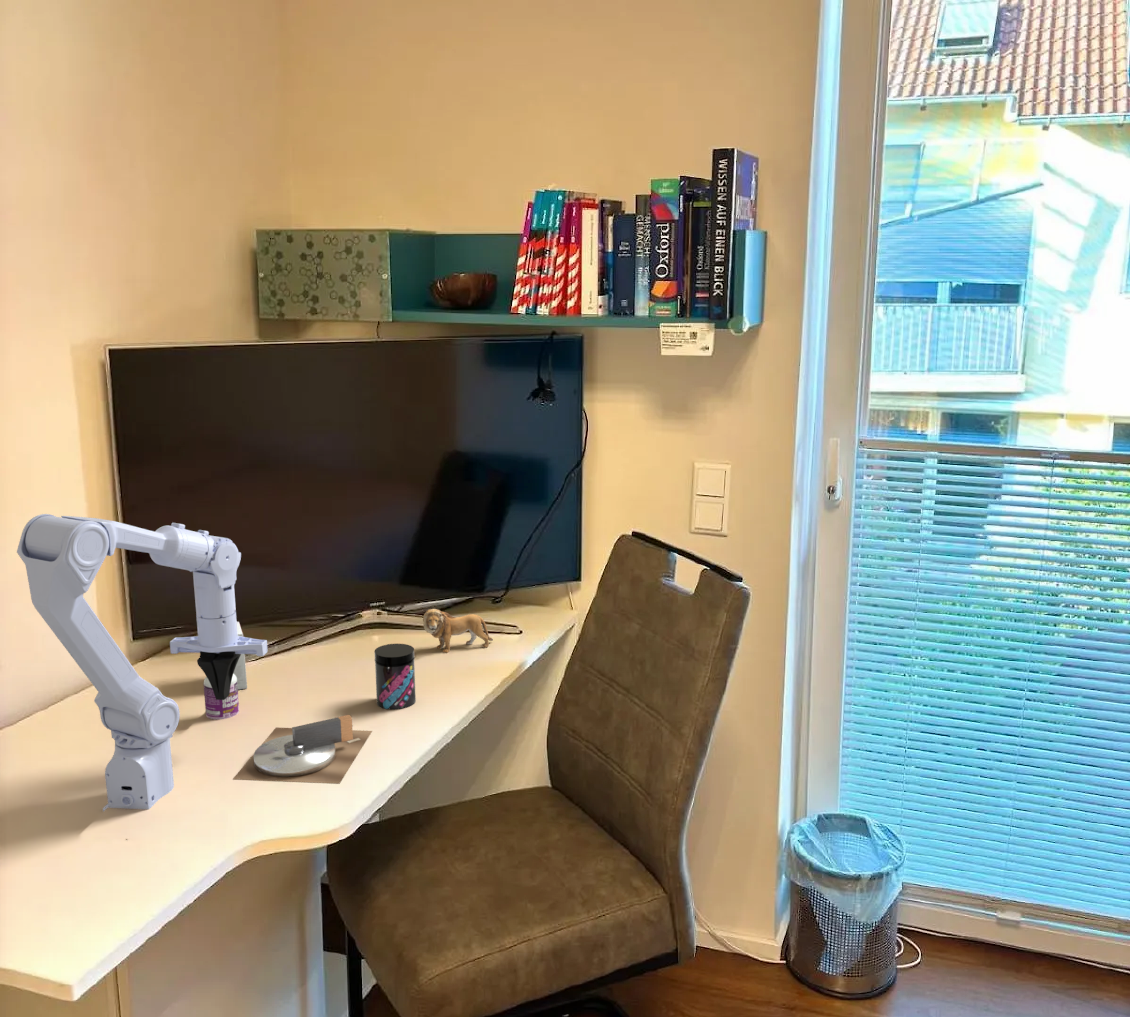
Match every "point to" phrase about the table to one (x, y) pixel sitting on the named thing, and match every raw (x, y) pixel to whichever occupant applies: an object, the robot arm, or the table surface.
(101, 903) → the table surface
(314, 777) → the dial board
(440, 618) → the lion figurine
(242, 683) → the small box
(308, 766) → the dial
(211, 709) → the pill bottle
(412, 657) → the supplement container
